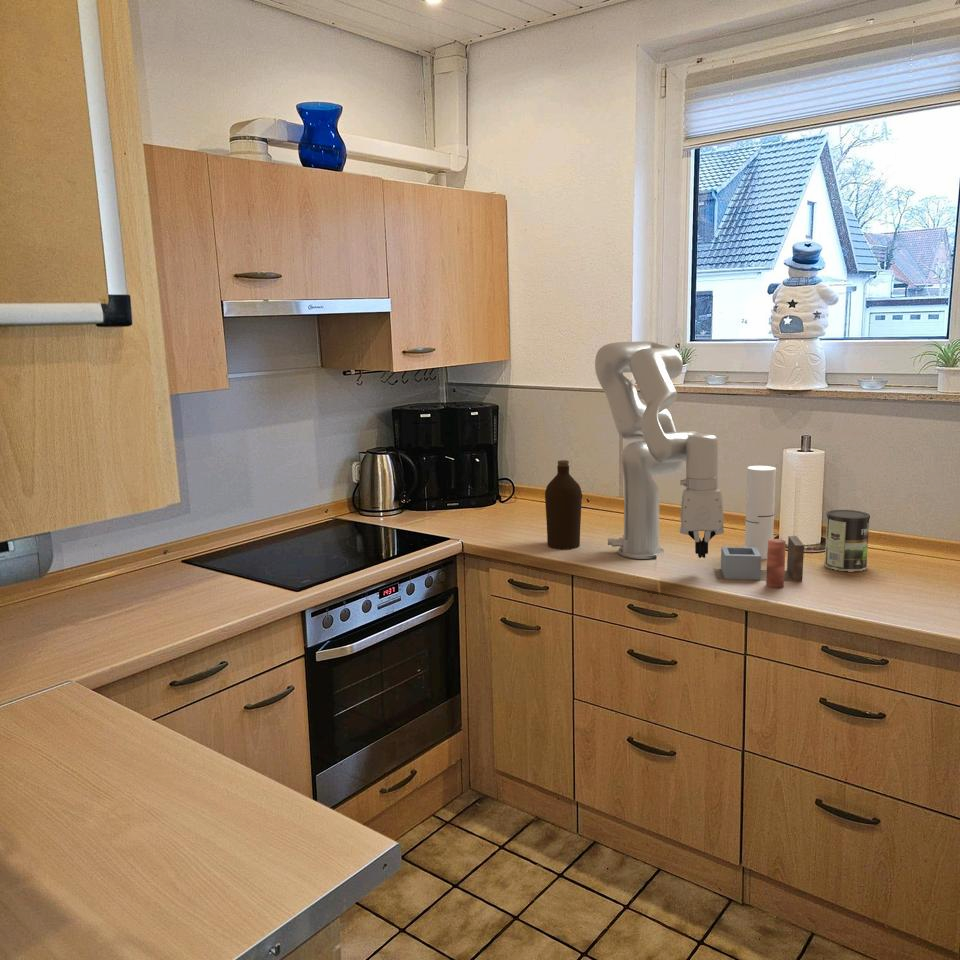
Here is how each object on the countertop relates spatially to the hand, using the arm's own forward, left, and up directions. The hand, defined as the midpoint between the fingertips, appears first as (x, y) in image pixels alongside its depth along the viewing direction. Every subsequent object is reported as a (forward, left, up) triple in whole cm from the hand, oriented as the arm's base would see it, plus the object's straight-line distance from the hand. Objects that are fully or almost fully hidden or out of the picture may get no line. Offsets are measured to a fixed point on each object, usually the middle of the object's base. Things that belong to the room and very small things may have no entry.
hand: (701, 556), depth 213 cm
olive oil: (-36, +29, -6) cm, 47 cm away
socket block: (+10, +1, -5) cm, 11 cm away
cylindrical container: (+17, +19, -6) cm, 26 cm away
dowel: (+17, -8, -6) cm, 19 cm away
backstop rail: (+14, +1, -6) cm, 15 cm away
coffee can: (+38, +14, -6) cm, 40 cm away
